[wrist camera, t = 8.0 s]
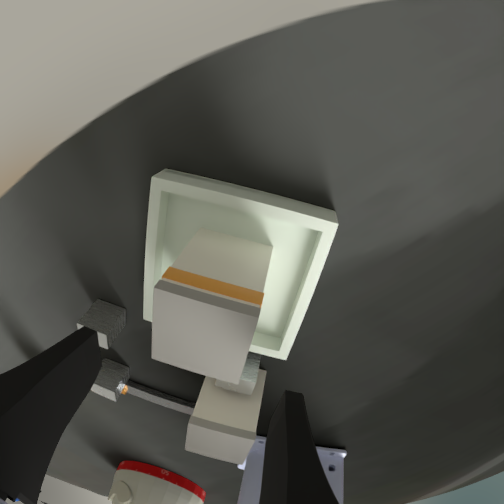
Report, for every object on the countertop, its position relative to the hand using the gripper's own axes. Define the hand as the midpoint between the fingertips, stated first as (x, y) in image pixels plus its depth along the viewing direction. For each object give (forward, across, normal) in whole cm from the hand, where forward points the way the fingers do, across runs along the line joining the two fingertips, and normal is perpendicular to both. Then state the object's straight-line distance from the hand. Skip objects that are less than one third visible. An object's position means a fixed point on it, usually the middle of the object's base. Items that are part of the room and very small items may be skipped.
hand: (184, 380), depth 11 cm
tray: (+9, 0, 0) cm, 9 cm away
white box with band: (+8, 0, 0) cm, 8 cm away
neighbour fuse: (+9, -2, +10) cm, 13 cm away
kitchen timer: (+9, +4, +41) cm, 42 cm away
